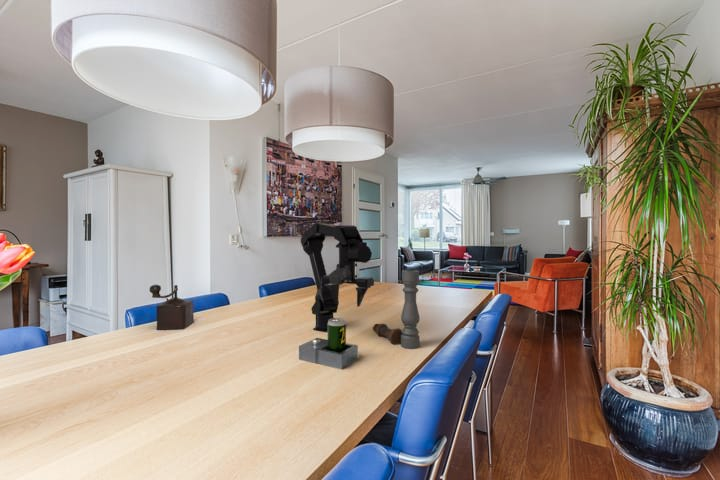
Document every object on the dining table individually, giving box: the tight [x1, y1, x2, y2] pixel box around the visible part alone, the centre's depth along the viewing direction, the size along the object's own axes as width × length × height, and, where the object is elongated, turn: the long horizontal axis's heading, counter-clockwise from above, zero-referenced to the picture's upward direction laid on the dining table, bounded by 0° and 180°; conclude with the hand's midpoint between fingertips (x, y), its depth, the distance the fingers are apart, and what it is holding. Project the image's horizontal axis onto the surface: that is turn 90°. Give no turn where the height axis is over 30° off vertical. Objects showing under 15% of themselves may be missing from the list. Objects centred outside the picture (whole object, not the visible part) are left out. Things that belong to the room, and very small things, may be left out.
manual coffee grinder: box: [149, 284, 195, 331], centre depth 134 cm, size 16×11×18 cm
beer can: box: [327, 317, 347, 353], centre depth 100 cm, size 5×5×12 cm
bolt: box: [372, 323, 403, 346], centre depth 122 cm, size 6×5×15 cm
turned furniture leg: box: [400, 269, 420, 350], centre depth 113 cm, size 6×6×25 cm
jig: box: [298, 337, 359, 370], centre depth 102 cm, size 15×9×5 cm, turn 61°
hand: (347, 305), depth 120 cm, fingers open, 9 cm apart
